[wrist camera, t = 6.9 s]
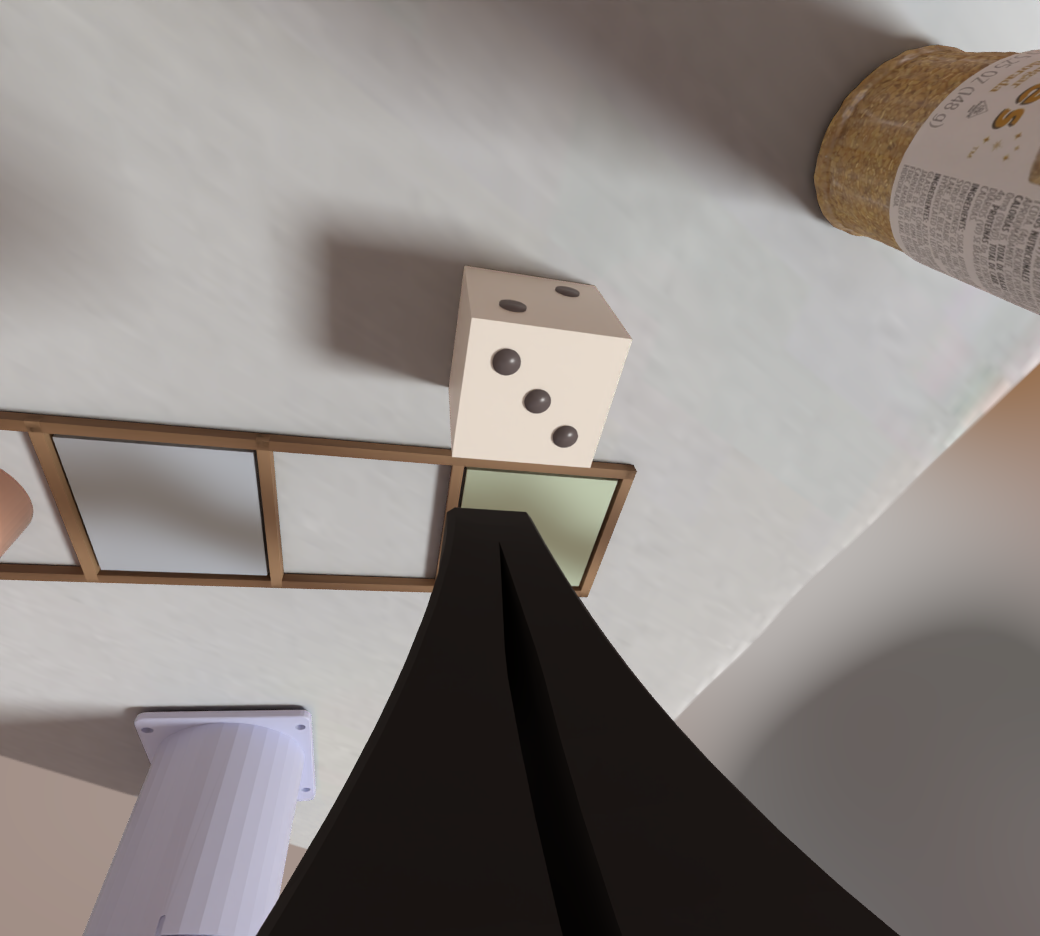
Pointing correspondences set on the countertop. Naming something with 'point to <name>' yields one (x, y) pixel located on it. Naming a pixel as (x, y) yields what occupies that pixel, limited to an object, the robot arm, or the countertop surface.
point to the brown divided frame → (268, 503)
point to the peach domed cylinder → (12, 511)
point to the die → (532, 369)
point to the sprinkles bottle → (944, 165)
